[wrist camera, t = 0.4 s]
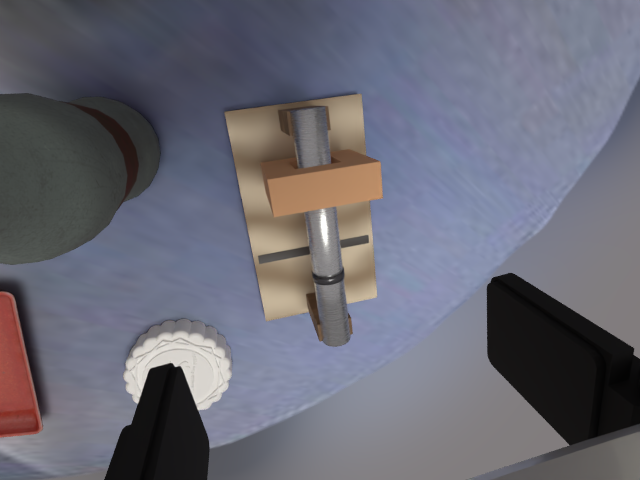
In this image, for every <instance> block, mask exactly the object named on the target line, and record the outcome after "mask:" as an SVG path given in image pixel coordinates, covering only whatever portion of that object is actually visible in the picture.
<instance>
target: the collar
mask: <svg viewBox="0 0 640 480" xmlns="http://www.w3.org/2000/svg"><path fill="white" fill-rule="evenodd" d="M330 155H331V164H326V165H319V166H313V167H307V168H301V169H298V166H297V159H296V157H295V158H288V159H282V160H275V161H269V162H262V163H261V169H262V175H263V180H264V186H265V192H266V195H267V198H268V201H269V204H270V207H271V210H272V213H273V216H274V217H279V216H284V215H290V214H296V213H301V212H307V211H313V210H318V209H324V208H330V207H335V206H341V205H347V204H352V203H358V202H364V201H369V200H375V199H381V198H383V195H382V179H381V164H380V161H378V160H375V159H373V158H370V157H368V156H365V155H363V154H360V153H358V152H355V151H353V150H350V149H347V150H340V151H334V152H330Z"/></svg>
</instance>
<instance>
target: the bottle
mask: <svg viewBox="0 0 640 480" xmlns="http://www.w3.org/2000/svg"><path fill="white" fill-rule="evenodd" d="M160 154H161V153H160V147H159V142H158V138H157V136H156V134H155V132H154V130H153V128H152V126H151V125H150V124H149V123H148V121H147V120H146V119H145V118H144V117H143V116H142V115H141V114H140V113H139V112H137V111H135V110H134V109H132V108H130V107H129V106H127V105H125V104H123V103H121V102H119V101H115V100H111V99H107V98H104V97H83V98H79V99H76V100H73V101H71V102H68V103H66V102H61V101H56V100H52V99H48V98H44V97H41V96H37V95H33V94H29V93H22V94H0V263H3V264H9V265H15V264H24V263H33V262H40V261H44V260H48V259H52V258H55V257H57V256H59V255H62V254H64V253H67V252H69V251H71V250H74V249H76V248H77V247H79V246H81V245H83V244H85V243H86V242H88V241H90V240H92V239H93V238H94V237H95V236H97V235H98V234H99V233H100V232H101V231H102V230H103V229H104V228H105V227H107V226H108V225H109V223H110V222H111V220H112V218H113V216H114V214H115V213H116V211H117V210H118V208H119V207H120V206H121V204H122V203H123V202H125V201H127V200H130V199H132V198H134V197H137V196H139V195H140V194H141V193H142V192H143V191H144V190H145V189H147V188H148V187H149V186H150V184H151V182H152V180H153V178H154V176H155V175H156V173H157V170H158V167H159V161H160Z"/></svg>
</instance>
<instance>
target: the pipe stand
mask: <svg viewBox="0 0 640 480" xmlns="http://www.w3.org/2000/svg"><path fill="white" fill-rule="evenodd" d="M324 106H325V109H326V118H327V127H328V136H329V146H330V152H334V151H340V150H347V149H350V150H353V151H355V152H358V153H360V154H363V155H365V156H366V147H365V134H364V121H363V108H362V95H361V94H355V95H347V96H339V97H332V98H324V99H317V100H309V101H302V102H294V103H286V104H279V105H271V106H264V107H256V108H249V109H241V110H234V111H226V112H225V117H226V122H227V127H228V132H229V137H230V142H231V147H232V152H233V157H234V162H235V167H236V172H237V177H238V182H239V187H240V193H241V198H242V203H243V208H244V213H245V218H246V223H247V228H248V233H249V238H250V243H251V248H252V253H253V258H254V263H255V268H256V273H257V278H258V283H259V288H260V293H261V298H262V303H263V308H264V313H265V318H266V321H270V320H274V319H279V318H284V317H288V316H293V315H297V314H302V313H307V312H309V313H310V316H311V318H312V321H313V324H314V327H315V330H316V333H317V335H318V338H319V341H322V334H321V327H320V321H319V314H318V307H317V300H316V293H315V286H314V282H313V279H312V264H311V257H310V250H309V243H308V236H307V229H306V222H305V215H304V212H301V213H296V214H290V215H284V216H279V217H274V216H273V213H272V210H271V207H270V204H269V201H268V198H267V195H266V192H265V186H264V180H263V175H262V169H261V163H262V162H269V161H275V160H282V159H288V158H295V157H296V151H295V144H294V137H293V129H292V122H291V115H290V111H292V110H298V109H305V108H314V107H324ZM336 209H337V218H338V227H339V237H340V246H341V255H342V264H343V267H344V273H345V278H344V282H345V291H346V300H347V304H348V303H353V302H358V301H362V300H367V299H371V298H376V297H377V289H376V276H375V263H374V250H373V237H372V224H371V211H370V200H369V201H364V202H358V203H352V204H347V205H341V206H336ZM348 319H349V328H350V334H353V332H352V323H351V317H350V315H349V313H348Z"/></svg>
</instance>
